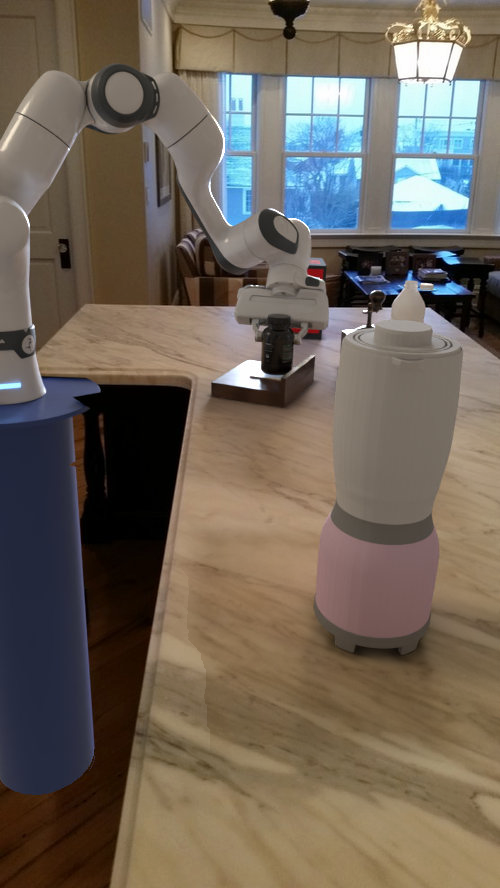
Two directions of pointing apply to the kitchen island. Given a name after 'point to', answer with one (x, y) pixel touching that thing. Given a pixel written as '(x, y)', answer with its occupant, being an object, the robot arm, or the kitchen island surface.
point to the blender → (387, 484)
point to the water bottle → (410, 303)
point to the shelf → (264, 383)
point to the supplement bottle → (277, 345)
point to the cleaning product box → (318, 271)
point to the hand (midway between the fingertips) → (277, 342)
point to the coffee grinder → (369, 311)
